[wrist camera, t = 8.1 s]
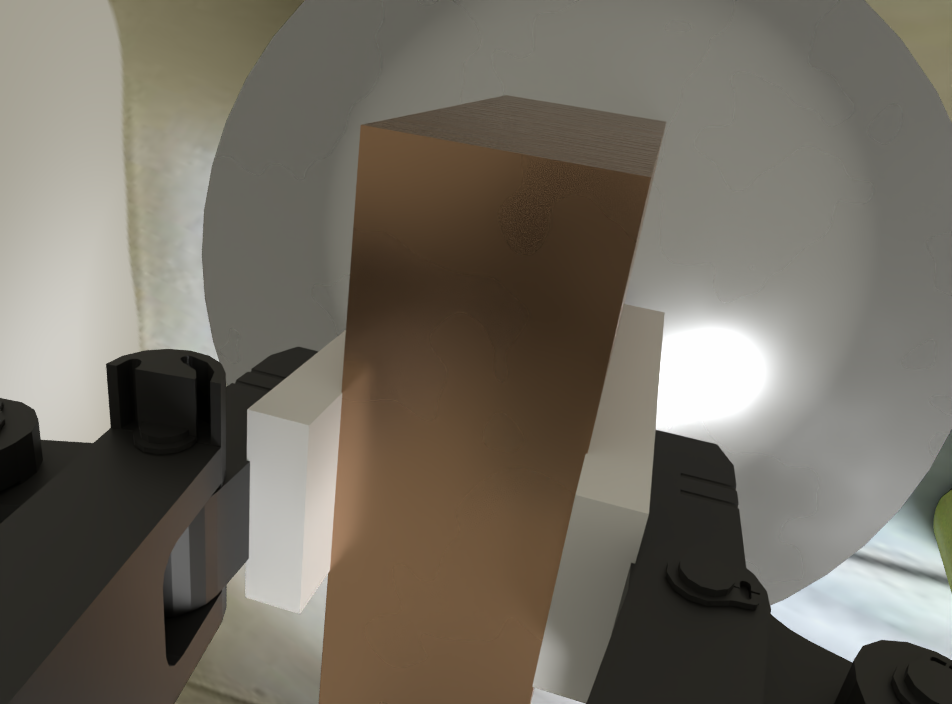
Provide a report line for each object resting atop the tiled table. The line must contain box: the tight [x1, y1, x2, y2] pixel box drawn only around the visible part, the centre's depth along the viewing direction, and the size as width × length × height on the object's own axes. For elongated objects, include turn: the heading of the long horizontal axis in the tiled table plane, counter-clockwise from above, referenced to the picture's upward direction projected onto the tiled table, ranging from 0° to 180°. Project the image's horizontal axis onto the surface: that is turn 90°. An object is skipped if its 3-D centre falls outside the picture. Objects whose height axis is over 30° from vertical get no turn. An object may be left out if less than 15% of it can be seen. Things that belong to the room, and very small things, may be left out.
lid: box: [202, 0, 952, 704], centre depth 13 cm, size 16×16×8 cm
